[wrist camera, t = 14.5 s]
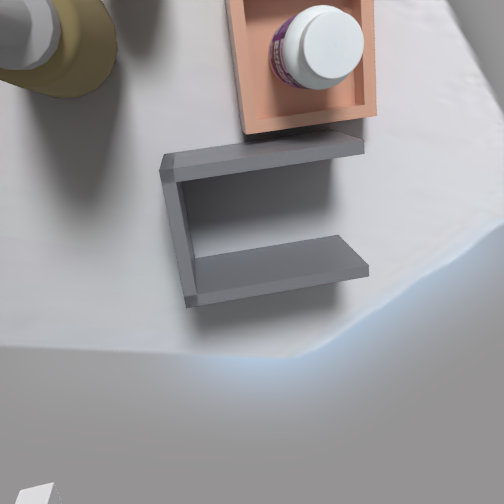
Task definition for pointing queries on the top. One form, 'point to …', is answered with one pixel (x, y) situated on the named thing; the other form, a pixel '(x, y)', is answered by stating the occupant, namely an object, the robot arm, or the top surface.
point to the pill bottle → (316, 48)
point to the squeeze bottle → (56, 45)
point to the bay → (266, 258)
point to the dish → (281, 95)
